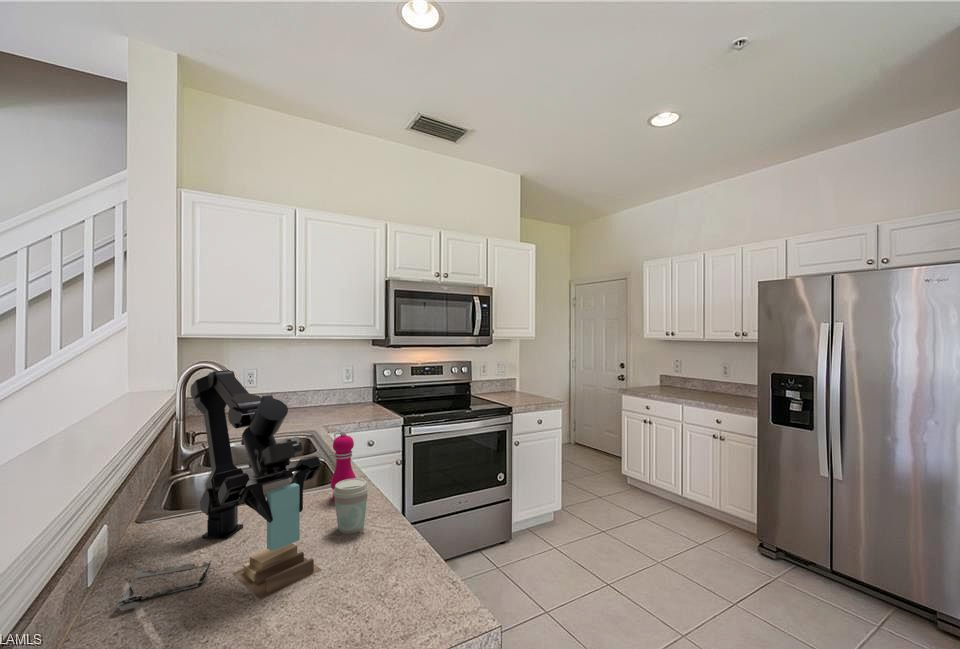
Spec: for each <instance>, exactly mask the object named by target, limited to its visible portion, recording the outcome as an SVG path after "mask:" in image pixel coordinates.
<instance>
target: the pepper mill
mask: <svg viewBox="0 0 960 649" xmlns="http://www.w3.org/2000/svg"><path fill="white" fill-rule="evenodd" d="M339 434H340V435H338V436H337V437H335V439H333V443H332V449H333V450H334V458H335V461H336V463H335V469H334V472H333V474H332V477H331V481H330V488H331V489H332V490H334V488H335V485H336V484H337V483H338V482H340V481H343V480H347V479H355V478H356V474H355V472H354V470H353V468H352V461H351V460H352V458H353V457H352V456H353V448H354V446H355V442H354V439H353V437H351V436H350V435H348V434H347V431H346V430H341V431H340V433H339ZM332 500H333V501H334V502H335V498H334V496H333V495H332Z"/></svg>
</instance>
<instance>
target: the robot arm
mask: <svg viewBox="0 0 960 649" xmlns="http://www.w3.org/2000/svg"><path fill="white" fill-rule="evenodd" d="M190 396H191V397H190V398H192V399H193V403H194V406H195V408H196V409H198V411H200V412H201V413H202V414H203V418H204V425H205V432H206V439H207V446H208V455H209V461H210V468H211V471H210V474H209V475H208V478H207V480H206V482H205V489H204V492H203V494H202V496H201V498H200V501H199V505H200V511H201V512H202V513H203V514H205V516H207V522H206V523H207V524H206V525H207V527H206V528H207V529H206V530H207V532H205V533H204V534H202V535H201V538H202V539H223V540H224V539H228V538H229V537H231V536H232V535H234V534H235V533H236V532H238V531H239V530H241V529H242V528H244V524H238V522H239V521H238V518H239V516H238V515H239V514H238V510H239V509H238V508H239V506H241V505H246V506H247V507H249V508H251V509H252V510H254V511H255V512H256V513H257V514H258V515H260V516H261V517H262V519H264V520H265V521H266V522H267V521H268V522H269V523H271V522H272V521H273V517H272V513H271V510H270V508H269V506H268V503H267V497H266V496H265V494H264V487H263V486H266V485H270V484H273V483H277V482H281V481H284V480H288V481H289V484H293V483H296V484H298V485H299V513H302V511H304V510H303V509H304V484H305V482H307V481H310V480H312V479H314V478H315V476H316V475H317V474H318V472H319V470H320V469H321V467H322V466H323V463H322V461H321V458H320V457H319V456H317V455H312V456H308V457H305V458H300V459H299V460H298V462H297V464H296V466H292V467H289V468H287V466H289V465H290V464H291V459H292V458H296V454H300V453H301V452H303V445H302V441H301V439H300V438H299V436H295V437H290V438H289V439H287V441H286V442H282V443H281V442H278V443H277V441H276V440H277V439H276V437H275V435H276V434H277V433H278V432H279V430H280V428H281V427H282V424H283V422H284V421H285V419H286V417H287V415H288V412H289V409H288V406H287V404H285V403H284V402H283V401H282V400H280V399H277V398H274V396H273V395H272V394H268V395H262V396H260V395H256V394H251V393H249V391H248V390H247V389H246V388H245V386H243V385H242V383H241V382H240V381H239V380H238V378H237V377H236V374H235V372H234V370H230V369H226V370H213V371H212V372H211V371H210V372H209V373H208V374H207V375H205V376H202V377H200V378H198V379H197V378H196V380H194V382H193V383H192V384H191V386H190ZM226 406H227V407H228V408H229V409H228V412H227V414H226ZM227 415H228V416H227ZM227 417H228V422H229V423H230V425H232V427H233V428H234V429H241V428H245V429H244V430H243V432H242V434H241V440H240V444H241V446H244V447H245V451H246V453H247V456H248V459H249V461H248V463H247V465H248V468H249V469H251V468H252V471H253V476H249V474H248V473H246V472H245V473H244V471H243V469H242V468H241V467H237V465H235V464H234V459H233V455H232V454H233V453H232V448H231V441H230V435H229V434H230V433H229V428H228V427H229V426H228V422H227Z"/></svg>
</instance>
